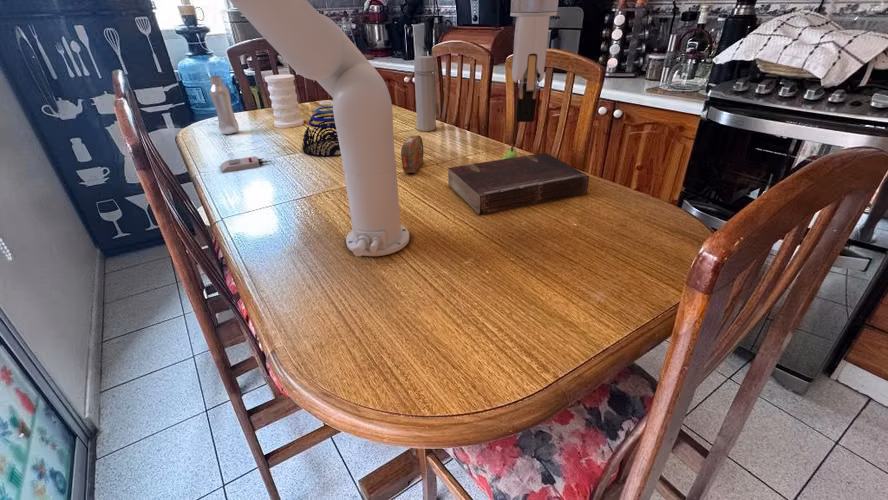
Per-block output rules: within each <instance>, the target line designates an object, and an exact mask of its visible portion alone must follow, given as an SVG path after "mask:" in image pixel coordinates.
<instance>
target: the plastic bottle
mask: <svg viewBox="0 0 888 500" xmlns="http://www.w3.org/2000/svg"><path fill="white" fill-rule="evenodd" d="M208 78H209V82H210V84H211V86H210V88H209V96H210V98H211V100H212V102H213V105H214V108H215V110H216V115H217V120H218V128H219V130H220V133H222V134H224V135H226V134H227V135H232V134H235V133H237V132H239V129H240V126H239V122H238V121H237V119H236V116H235V113H234V110H233V106H232V105H233V104H232V99H231V92H230V90H229V88H228V87H227V86H226V85H225V84H224V83H223V80H222V76H221V75H214V76H209V77H208Z"/></svg>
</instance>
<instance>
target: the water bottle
mask: <svg viewBox="0 0 888 500" xmlns="http://www.w3.org/2000/svg"><path fill="white" fill-rule="evenodd" d="M413 62H414V63H413V65H414V66H413V73H415V74H414V91H415V93H414V94H415V112H416V113H415V114H416V130H418V131H420V132H433V131H434V130H436V128H437V122H436V121H437V119H436V118H440V117H441V102H440V95H439V88H438V87H439V86H438V80H437V77H438V72H437V71H435V60H434V55H433V56H431V55H419V56H414V61H413ZM437 99H438V100H437ZM437 103H438V111H439V113H438V114H437Z"/></svg>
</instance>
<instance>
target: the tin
mask: <svg viewBox="0 0 888 500" xmlns="http://www.w3.org/2000/svg"><path fill="white" fill-rule="evenodd" d="M422 138H423V137H421V135H419V134H418V135H411V136H410V137H409V138H408V139H407V140H406V141H405V142H404V143H403V144H402V146H401V150H400V158H401V164H402V170H403V172H404V173H406V174H415V173H416V172H417V171H418V169H420V167H421V166H422V164H423V162H424V143H423V142H424V141H423V139H422Z"/></svg>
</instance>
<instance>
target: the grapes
mask: <svg viewBox="0 0 888 500" xmlns="http://www.w3.org/2000/svg"><path fill="white" fill-rule="evenodd" d="M514 157H518V153H517V151H516V150H515V149H514V143H511V144H510V149H508V150H507V151H506V153H505V156H502V157H501V158H500V160H501V159H508V158H514Z"/></svg>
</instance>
